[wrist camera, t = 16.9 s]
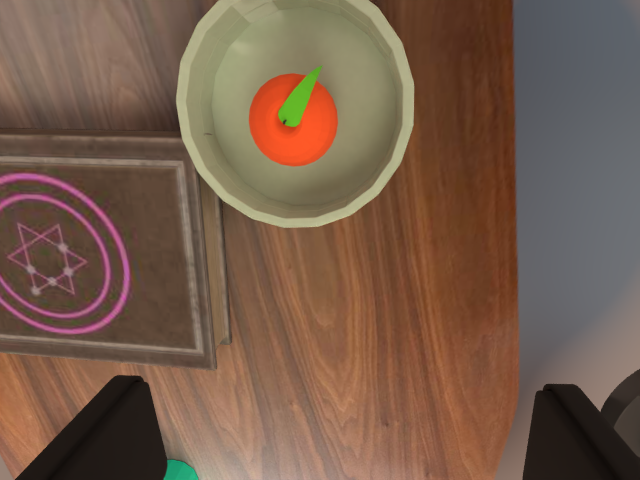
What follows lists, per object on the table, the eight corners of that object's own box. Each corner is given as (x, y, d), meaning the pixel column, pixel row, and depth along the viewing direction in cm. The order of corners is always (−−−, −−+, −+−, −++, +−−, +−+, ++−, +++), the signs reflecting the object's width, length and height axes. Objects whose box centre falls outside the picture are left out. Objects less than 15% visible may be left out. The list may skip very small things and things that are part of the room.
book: (-18, 322, 42) (-65, 347, 38) (-82, 125, 35) (-149, 126, 31) (232, 341, 40) (214, 371, 35) (216, 130, 33) (192, 132, 28)
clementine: (291, 49, 30) (272, 28, 23) (362, 95, 30) (363, 87, 23) (248, 135, 32) (219, 139, 25) (314, 176, 33) (303, 190, 26)
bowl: (406, -12, 28) (417, -43, 23) (402, 208, 33) (411, 224, 28) (190, 9, 30) (156, -15, 25) (220, 214, 35) (197, 230, 30)
